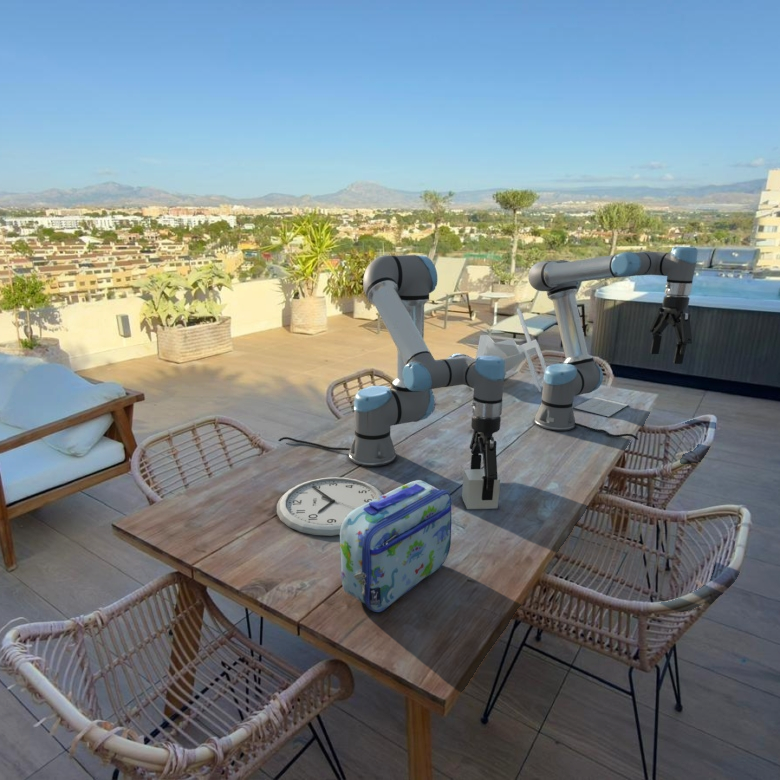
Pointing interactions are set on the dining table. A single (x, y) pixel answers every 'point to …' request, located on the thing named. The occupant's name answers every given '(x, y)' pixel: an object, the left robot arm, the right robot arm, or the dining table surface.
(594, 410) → the invitation card
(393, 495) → the lunch box
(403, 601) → the dining table surface
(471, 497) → the brick
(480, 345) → the white plastic object
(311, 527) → the wall clock
